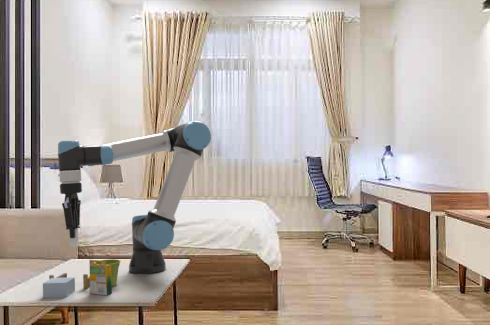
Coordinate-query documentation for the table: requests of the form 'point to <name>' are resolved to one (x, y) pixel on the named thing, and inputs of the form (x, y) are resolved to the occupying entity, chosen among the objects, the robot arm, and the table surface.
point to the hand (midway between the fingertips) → (74, 246)
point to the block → (59, 287)
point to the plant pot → (112, 269)
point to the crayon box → (100, 278)
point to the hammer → (85, 279)
